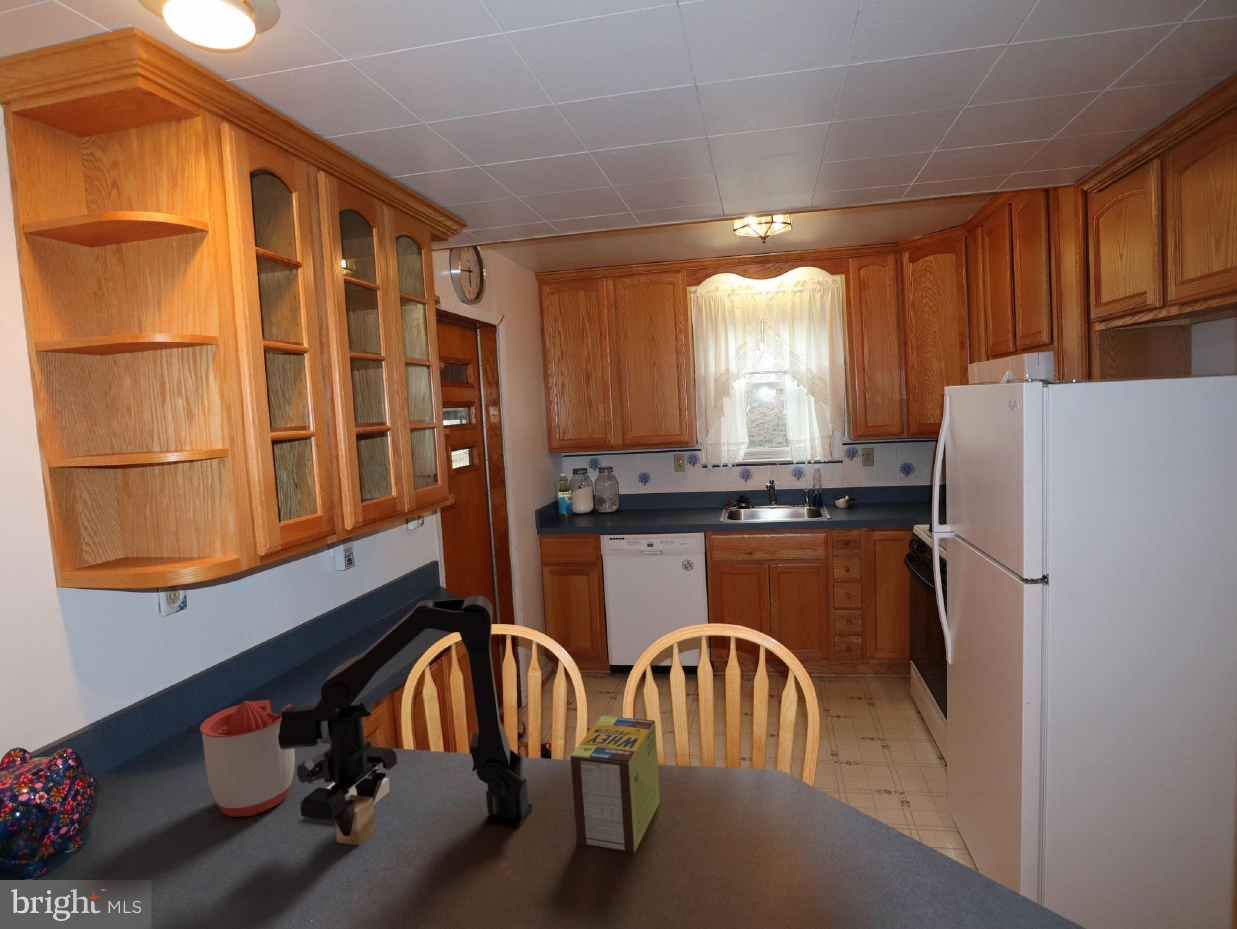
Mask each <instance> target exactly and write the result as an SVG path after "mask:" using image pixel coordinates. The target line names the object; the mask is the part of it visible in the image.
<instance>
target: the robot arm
mask: <svg viewBox="0 0 1237 929" xmlns="http://www.w3.org/2000/svg"><path fill="white" fill-rule="evenodd" d="M493 612H494V611H493V605H492V602H491V601H490V600H489V599H487V597H485V596H483V595H479V594H478V595H476V594H474V595H470V596H468V597H467V598H448V599H439V600H428V599H424V600H421V601H419V602H418V603H417V604H416V605H415V606H414V608H413V609H412V610H411V611H410V612H409V613H407V615H405V616H404V617H403V618H402V619H400V621H398V622H397V623H396V624H395V625H393V627H391V628H390V629H389V630H388V631H387V632H386V633H385V634H383V636H381V637H380V638H379V639H378V640H377V641H376V642H374V643H373V644H372V645H370V647H369V648H367V649H366V650H365V651H362V652H361V653H360V654H358V655H356V656H353V657H352V658H350V659H348V660H346V661H345V662H343V663H341V664H339V666H337V667H336V668H334V669H333V670H332V671H331V673H330V674H329V676H328V677H327V678H326V680H325V681H324V683H322V686H321V687H320V698H319V699H318V701H317V702H316V703H315V704H314V705H304V706H292V707H286V708H285V709H284V710H283V711H282V710H281V713H280V714H281V716H282V719H281V723H280V729H279V735H278V741H279V746H280V748H281V749H282V750H286V749H294V750H295V749H303V748H310V747H311V748H312V747H318V746H319V745H320V744H321V741H322V740H324V739H326V737H327V735H328V740H329V742H328V743H329V748H328V749H326V750H325V751H324V752H322V753H319V754H318V755H316V756H315V757H313V758H311V759H310V758H309V759H307V760H304V761H302V762H300V764H298V765H296V766H297V767H296V768H297V770H296V774H297V775H296V776H297V778H298V780H299V782H300V783H302V784H305V783H308V784H313V783H314V782H316V781H319V780H322V779H323V782H324V783H332V782H333V783H335V784H334V785H333V786H332V787H331V789H327V787H326V788H325V787H316V788H315V789H314V790H312V792H310V793H309V794H308V795H306V796H305V797H304V798H303V799H301V801H300V802H299V807H300V808H299V810H300V817H305V818H313V819H320V820H327V821H328V820H330V819H334V822H335V821H336V823H337V825H338V827H339V829H340V830H341V832H342V834H343V835H344V836H349V835H350V833H351V828H352V822H353V816H354V809H355V803H356V801H355V800H349V790H350V789H352V788H353V787H355V788H356V792H357V795H359V796H367V797H373V804H374V801H375V798H376V796H377V793H378V791H379V789H380V786H381V784H382V782H383V779H384V778H387V777H386V776H387V773H385V772H380V768H378V767H379V765H380V764H382V769H384V770H385V771H390V770H391V769H392V768H393V767H394V766H396V765H397V764H398V758H397V752H395V751H394V750H393V748H389V747H381V746H380V747H379V746H372V741H369V740H366V733H365V723H364V722H365V721H364V718H367V717H370V716H372V714H373V712H374V709H375V707H376V706H375V704H374V703H372V702H370V701H368V700H367V699H366V698H364V697H363V698H362V699H361V700H360V701H359V702H358V703H354V702H355V700H356V699H357V698H358V696H359V695H360V694H361V693H362V691H363V690H364V689H365V687H366V686H367V685H368V683H369V682H370V681H371V680H372V678H373V677H375V676H374V675H376V674H377V672H378V671H380V669H382V668H383V667H384V666H385V665H386V664H388V663H389V662H390V661H391V660H392V659H393V658H394V657H396V656H397V655H398V654H399V653H400V652H401V651H402V650H404V649H405V648H406V647H407V646H408V645H409V644H410V643H411V642H412V641H414V640H415V639H416V638H417V637H418V636H419V635H420V634H422V633H423V632H424V631H425V630H426V629H432V630H437V631H441V632H447V633H459V636H460V638H461V642H462V645H463V646H464V648H465V650H466V652H467V654H468V658H469V667H470V675H471V676H470V677H471V682H472V689H473V690H472V691H473V697H474V698H473V699H474V705H475V714H476V721H477V727H478V732H473V733H471V737H470V738H471V739H470V745H469V746H470V747H469V750H470V751H469V752H470V755H471V758H472V762H473V763H472V769H471V770H472V772H475V771H476V775H477V778H478V780H479V781H481V782H483V783H485V784H486V785H487V790H486V791H485V799H486V810H487V811H486V812H487V814H488V816H487V817H486V818H485V823H486V824H491V825H499V826H504V827H506V826H507V827H513V828H518V827H520V826H521V825H522V823H523V822H524V821H525V819H526V818H527V816H528V815H529V813H530V812H531V810H533V806H534V805H533V804H532V803H529V797H528V795H529V794H528V792H529V791H528V780H527V778H524V777H523V776H524V775H523V774H524V771H523V770H524V768H523V766H524V764H523V763H524V759H523V757H522V756H521V755H519V754H518V753H516V752H515V751H514V750H513V749H511V746H510V743H509V739H508V736H507V733H506V731H505V729H504V726H503V724H502V722H501V718H500V712H499V704H498V696H497V688H496V681H495V680H496V679H495V674H494V673H495V670H494V666H493V665H494V664H493V656H492V649H491V644H492V627H493ZM374 805H375V804H374Z"/></svg>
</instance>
